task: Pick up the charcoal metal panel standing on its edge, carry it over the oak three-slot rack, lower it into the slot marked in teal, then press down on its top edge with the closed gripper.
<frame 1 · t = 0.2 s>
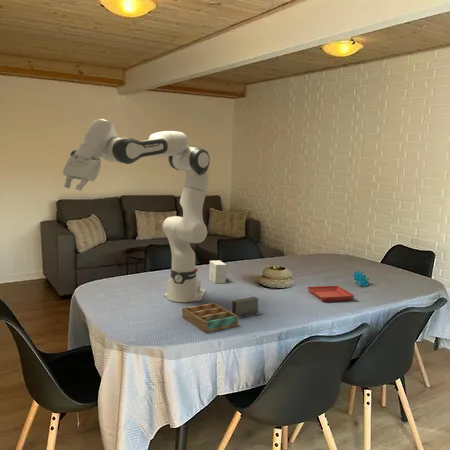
hand: (72, 188, 176), 54 cm above the table, tool tilted 30°, fingers open, 8 cm apart
gear: (360, 285, 259), on the table
plant saucer: (329, 297, 236), on the table
skincare box: (217, 281, 256), on the table
panel: (244, 314, 204), on the table
rack: (209, 321, 194), on the table
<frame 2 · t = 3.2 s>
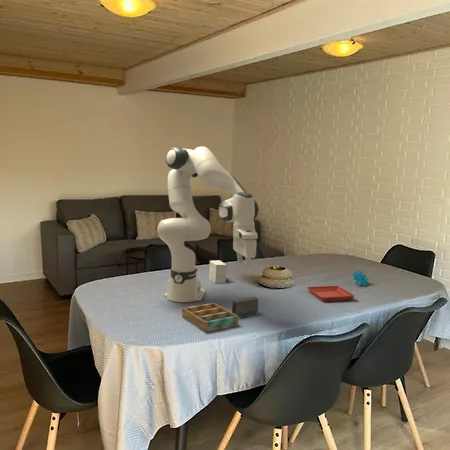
hand: (243, 265, 193), 24 cm above the table, tool pointing down, fingers open, 8 cm apart
nothing on the table moved.
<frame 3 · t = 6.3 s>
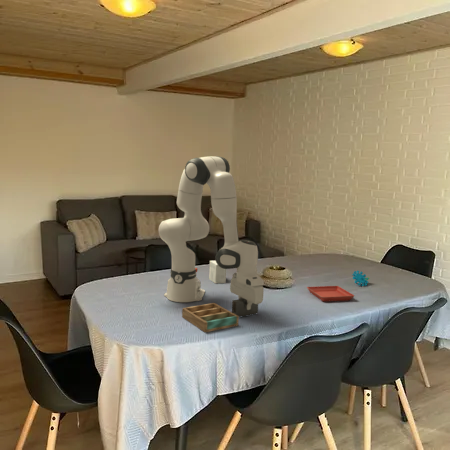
hand: (245, 307, 204), 3 cm above the table, tool pointing down, fingers closed on panel, 3 cm apart
panel: (244, 314, 204), on the table, touching gripper
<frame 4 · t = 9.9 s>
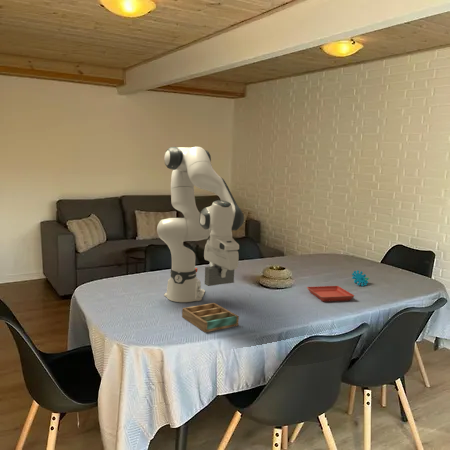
hand: (219, 275, 186), 21 cm above the table, tool pointing down, fingers closed on panel, 3 cm apart
panel: (219, 283, 187), point 18 cm above the table, touching gripper
when the fingers open (6 cm above the table, at t = 13.1 s): panel drops 1 cm, resting on rack.
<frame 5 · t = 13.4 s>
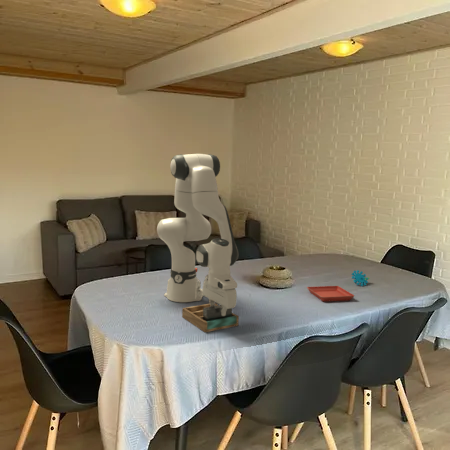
hand: (217, 312, 188), 6 cm above the table, tool pointing down, fingers open, 6 cm apart
panel: (217, 323, 189), point 1 cm above the table, touching rack
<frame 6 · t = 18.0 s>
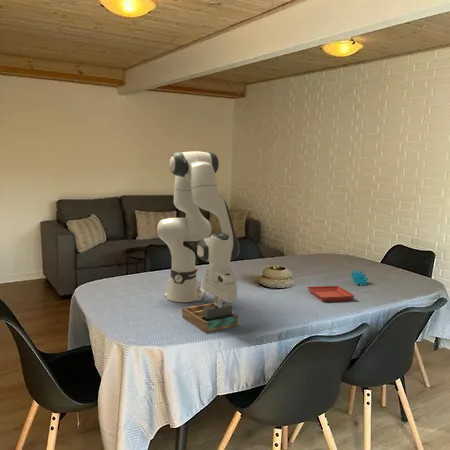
hand: (218, 306, 188), 8 cm above the table, tool pointing down, fingers closed, pressing on panel
panel: (217, 323, 189), point 1 cm above the table, touching gripper, rack
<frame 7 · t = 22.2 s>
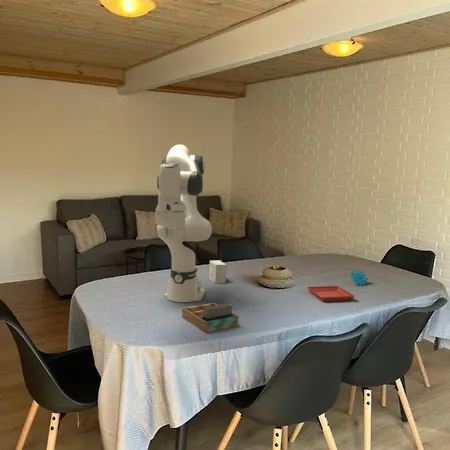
hand: (168, 238, 186), 35 cm above the table, tool pointing down, fingers closed
panel: (217, 323, 189), point 1 cm above the table, touching rack
at the end: panel 0.0 cm from the target spot on the rack, point 1.2 cm above the rack's base; panel tilted 0°; the gripper is holding nothing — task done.
